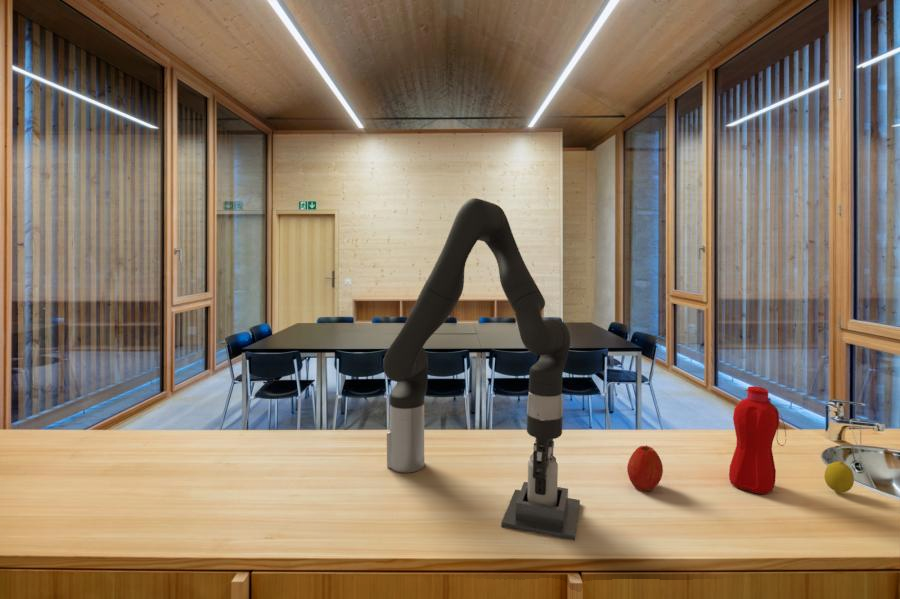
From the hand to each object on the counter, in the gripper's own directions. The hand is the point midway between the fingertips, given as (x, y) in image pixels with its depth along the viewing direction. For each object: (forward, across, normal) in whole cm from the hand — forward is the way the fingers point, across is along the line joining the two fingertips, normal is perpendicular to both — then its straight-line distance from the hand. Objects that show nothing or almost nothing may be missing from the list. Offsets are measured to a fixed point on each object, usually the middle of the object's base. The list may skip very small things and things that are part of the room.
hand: (542, 485), depth 107 cm
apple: (+7, -21, +22) cm, 31 cm away
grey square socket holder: (+7, 0, 0) cm, 7 cm away
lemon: (+7, -33, +66) cm, 74 cm away
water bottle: (+7, -30, +48) cm, 57 cm away
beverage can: (+6, 0, 0) cm, 6 cm away
